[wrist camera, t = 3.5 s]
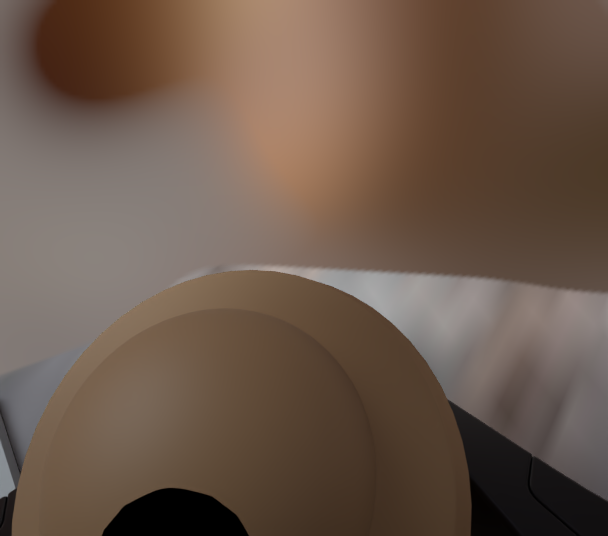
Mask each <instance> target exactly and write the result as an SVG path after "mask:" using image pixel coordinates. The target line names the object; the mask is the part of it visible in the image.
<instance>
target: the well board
mask: <svg viewBox="0 0 608 536" xmlns="http://www.w3.org/2000/svg"><path fill="white" fill-rule="evenodd" d="M19 479H20V472H19V469H18V466H17V463H16V460H15V457H14V454H13V451H12V448H11V445H10V441H9V438H8V435H7V432H6V429H5V426H4V423H3V420H2V417H1V414H0V499H1V498H2V497H4V496H7V497H8V494H9V493H10V492H11V491H13V490H14V489H16V488H17V486H18V483H19Z"/></svg>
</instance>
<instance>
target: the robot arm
mask: <svg viewBox="0 0 608 536" xmlns="http://www.w3.org/2000/svg"><path fill="white" fill-rule="evenodd" d="M447 400H448V399H447ZM448 402H449V405H450V407H451V409H452V411H453V414H454V417H455V420H456V423H457V426H458V429H459V432H460V435H461V438H462V442H463V446H464V451H465V456H466V461H467V466H468V471H469V481H470V493H471V505H472V507H471V536H608V501H607V500H605V499H603V498H602V497H600V496H598V495H596V494H595V493H593V492H591V491H590V490H588V489H586V488H584V487H583V486H581V485H580V484H578V483H576V482H575V481H573V480H572V479H570V478H568V477H567V476H565V475H564V474H562V473H560V472H559V471H557V470H556V469H554V468H552V467H551V466H549V465H548V464H546V463H545V462H543V461H542V460H540V459H539V458H537V457H535V456H534V457H532V454H531V453H529V452H528V451H526V450H525V449H523V448H522V447H520V446H518V445H517V444H515V443H514V442H512V441H511V440H509V439H508V438H506V437H505V436H503V435H502V434H500V433H499V432H497V431H495V430H494V429H492V428H491V427H489V426H488V425H486V424H485V423H483V422H482V421H480V420H479V419H477V418H476V417H474V416H472V415H471V414H469V413H468V412H466V411H465V410H463V409H462V408H460V407H459V406H457V405H456V404H454V403H453V402H451V401H449V400H448ZM16 492H17V488H16V489H14V490H13V491H11V492H10V493H9V494H8V497H7V496H4V497H2V498H1V499H0V536H12V519H13V512H14V506H15V499H16Z"/></svg>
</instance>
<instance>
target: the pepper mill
mask: <svg viewBox="0 0 608 536" xmlns="http://www.w3.org/2000/svg"><path fill="white" fill-rule="evenodd" d="M471 507H472V505H471V493H470V481H469V471H468V466H467V461H466V456H465V451H464V446H463V442H462V438H461V435H460V432H459V429H458V426H457V423H456V420H455V417H454V414H453V411H452V409H451V407H450V405H449V402H448V400H447V398H446V396H445V394H444V392H443V389H442V387H441V385H440V383H439V382H438V380H437V379H436V377H435V375H434V374H433V372H432V370H431V369H430V367H429V366H428V364H427V362H426V361H425V360H424V358H423V357H422V356H421V355H420V353H419V352H418V351H417V349H416V348H415V347H414V346H413V344H412V343H411V342H410V341H409V340H408V339H407V338H406V337H405V336H404V335H403V334H402V333H401V332H400V331H399V330H398V329H397V328H396V327H395V326H394V325H393V324H392V323H391V322H390V321H389V320H387V319H386V318H385V317H383V316H382V315H381V314H380V313H378V312H377V311H376V310H375V309H373V308H372V307H370V306H369V305H367V304H365V303H364V302H362V301H360V300H359V299H357V298H355V297H354V296H352V295H350V294H347V293H345V292H343V291H341V290H338V289H336V288H334V287H332V286H329V285H325V284H322V283H319V282H316V281H313V280H309V279H306V278H303V277H300V276H296V275H291V274H286V273H280V272H275V271H258V270H245V271H229V272H223V273H217V274H212V275H206V276H203V277H199V278H196V279H193V280H189V281H186V282H183V283H181V284H178V285H176V286H173V287H171V288H169V289H166V290H164V291H162V292H160V293H158V294H156V295H155V296H153V297H151V298H149V299H147V300H146V301H144V302H142V303H140V304H139V305H137V306H136V307H135V308H133V309H132V310H130V311H129V312H127V313H126V314H124V315H123V316H121V317H120V318H119V319H118V320H117V321H116V322H114V323H113V324H112V325H111V326H110V327H109V328H107V329H106V330H105V331H104V332H103V333H102V334H101V335H100V336H99V337H98V338H97V339H96V340H95V341H94V342H93V343H92V344H91V345H90V346H89V347H88V348H87V349H86V350H85V351H84V352H83V353H82V355H81V356H80V357H79V359H78V360H77V361H76V362H75V364H74V365H73V366H72V368H71V369H70V370H69V371H68V373H67V374H66V375H65V377H64V378H63V380H62V382H61V383H60V385H59V386H58V388H57V389H56V391H55V393H54V394H53V396H52V397H51V399H50V401H49V403H48V405H47V407H46V409H45V411H44V413H43V415H42V417H41V419H40V421H39V423H38V425H37V427H36V430H35V432H34V435H33V437H32V440H31V443H30V445H29V448H28V451H27V453H26V456H25V460H24V464H23V467H22V471H21V475H20V479H19V483H18V486H17V492H16V499H15V506H14V512H13V519H12V536H471Z"/></svg>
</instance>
